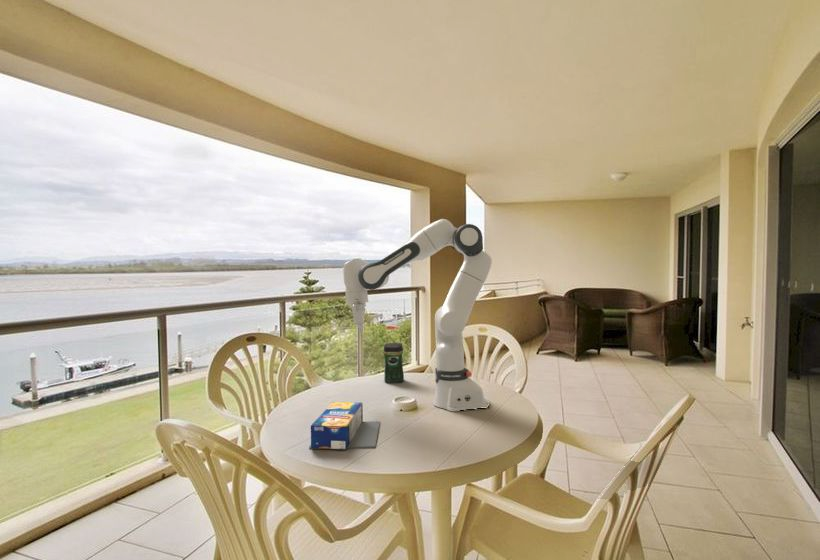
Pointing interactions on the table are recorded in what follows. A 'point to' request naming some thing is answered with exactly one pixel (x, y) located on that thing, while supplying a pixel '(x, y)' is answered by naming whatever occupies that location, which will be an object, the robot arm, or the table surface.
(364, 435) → the mat
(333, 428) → the blue cardboard box
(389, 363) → the coffee jar
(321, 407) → the table surface
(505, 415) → the table surface
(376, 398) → the table surface
